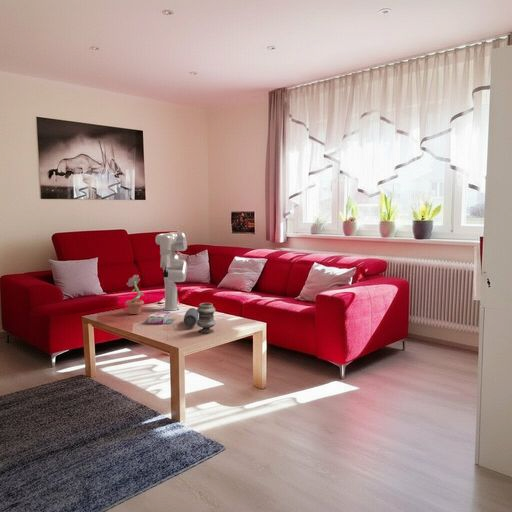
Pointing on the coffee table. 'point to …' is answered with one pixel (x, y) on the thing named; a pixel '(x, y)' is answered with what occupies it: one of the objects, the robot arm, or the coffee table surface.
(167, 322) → the mat
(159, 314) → the candy bar box
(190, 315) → the bluetooth speaker
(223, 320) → the coffee table surface
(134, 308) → the decorative flower
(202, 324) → the apothecary jar
